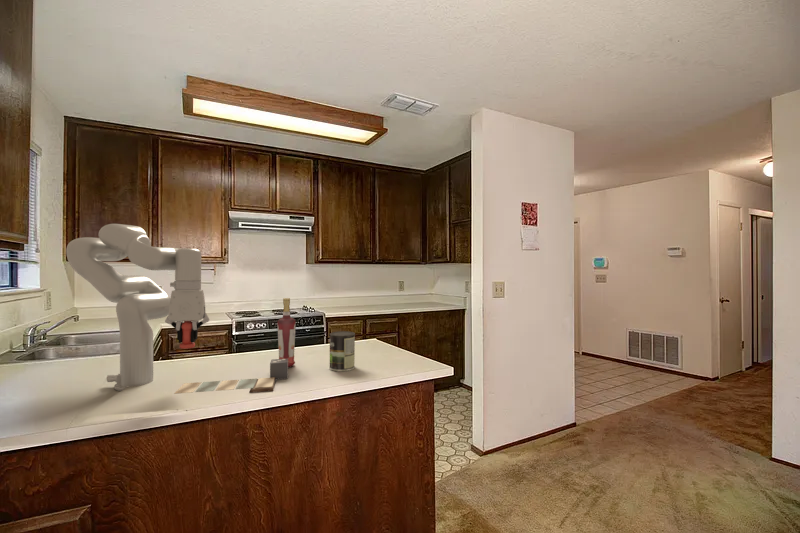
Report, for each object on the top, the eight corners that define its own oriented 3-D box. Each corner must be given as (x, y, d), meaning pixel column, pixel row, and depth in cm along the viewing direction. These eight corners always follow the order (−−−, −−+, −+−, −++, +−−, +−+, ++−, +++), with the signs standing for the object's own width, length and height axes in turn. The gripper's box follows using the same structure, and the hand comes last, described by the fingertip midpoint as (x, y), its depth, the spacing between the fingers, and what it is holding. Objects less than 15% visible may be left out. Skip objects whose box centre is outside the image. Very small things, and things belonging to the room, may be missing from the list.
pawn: (177, 348, 124) (178, 321, 124) (181, 345, 128) (182, 319, 128) (192, 348, 125) (193, 321, 125) (196, 345, 129) (196, 319, 129)
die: (270, 379, 139) (270, 363, 139) (271, 375, 145) (271, 359, 145) (287, 378, 141) (287, 362, 141) (287, 374, 147) (287, 358, 147)
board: (172, 398, 120) (172, 394, 120) (183, 386, 132) (183, 382, 132) (273, 390, 127) (273, 386, 127) (275, 380, 139) (275, 376, 139)
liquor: (295, 368, 155) (295, 299, 155) (276, 369, 154) (276, 299, 154) (296, 363, 163) (296, 297, 162) (277, 364, 161) (278, 297, 161)
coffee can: (331, 372, 149) (331, 336, 149) (327, 365, 159) (327, 331, 159) (357, 370, 152) (357, 334, 152) (352, 364, 162) (352, 330, 162)
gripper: (156, 286, 121) (155, 345, 121) (212, 286, 125) (211, 343, 125) (164, 285, 128) (163, 340, 128) (217, 285, 132) (216, 338, 132)
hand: (187, 341), depth 127 cm, fingers closed on pawn, 3 cm apart
